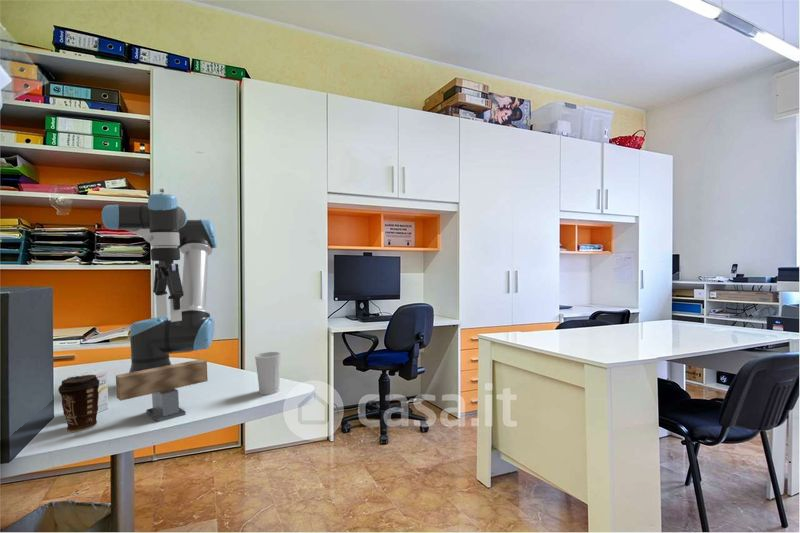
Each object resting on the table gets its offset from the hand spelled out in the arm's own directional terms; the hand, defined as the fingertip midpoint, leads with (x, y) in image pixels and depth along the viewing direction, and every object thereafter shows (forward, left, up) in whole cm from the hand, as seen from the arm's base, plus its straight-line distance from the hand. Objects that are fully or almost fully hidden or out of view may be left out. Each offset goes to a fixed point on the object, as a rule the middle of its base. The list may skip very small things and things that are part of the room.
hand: (169, 318), depth 122 cm
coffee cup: (-1, -21, -26) cm, 34 cm away
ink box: (-12, -18, -26) cm, 34 cm away
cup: (+11, +26, -26) cm, 38 cm away
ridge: (+6, -3, -26) cm, 27 cm away
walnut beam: (+6, -3, -19) cm, 20 cm away
